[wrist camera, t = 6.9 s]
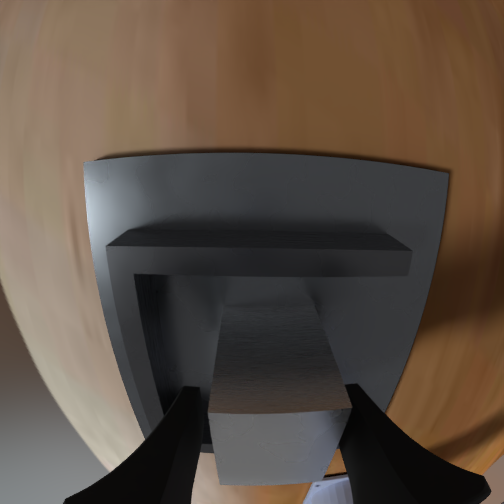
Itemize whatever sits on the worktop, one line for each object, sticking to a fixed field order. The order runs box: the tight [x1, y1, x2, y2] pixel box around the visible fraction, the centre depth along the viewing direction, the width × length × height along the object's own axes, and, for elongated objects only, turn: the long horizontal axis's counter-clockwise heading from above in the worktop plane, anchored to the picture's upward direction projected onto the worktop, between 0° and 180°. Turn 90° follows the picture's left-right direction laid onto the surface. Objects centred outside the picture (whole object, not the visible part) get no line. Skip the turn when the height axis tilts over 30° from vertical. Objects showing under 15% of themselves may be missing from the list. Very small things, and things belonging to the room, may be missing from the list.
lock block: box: [208, 306, 352, 485], centre depth 11 cm, size 5×4×6 cm
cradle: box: [84, 153, 449, 453], centre depth 13 cm, size 18×16×3 cm
